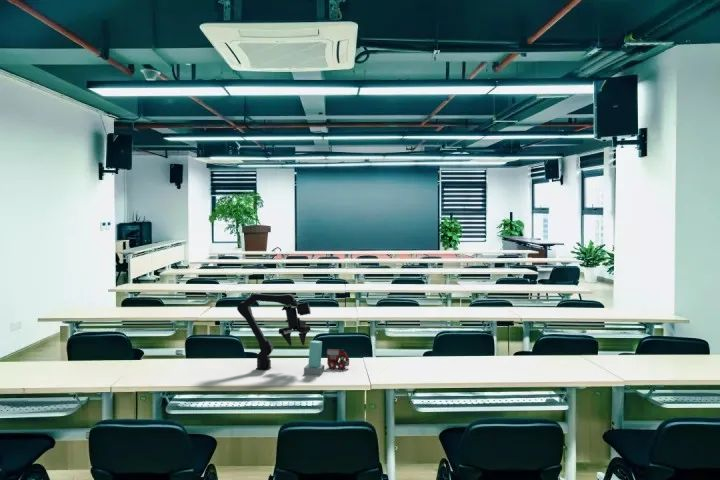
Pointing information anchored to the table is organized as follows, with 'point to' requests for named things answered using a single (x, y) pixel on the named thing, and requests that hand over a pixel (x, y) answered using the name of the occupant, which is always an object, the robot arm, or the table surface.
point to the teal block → (315, 353)
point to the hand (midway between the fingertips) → (297, 345)
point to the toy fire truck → (334, 357)
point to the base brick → (313, 370)
